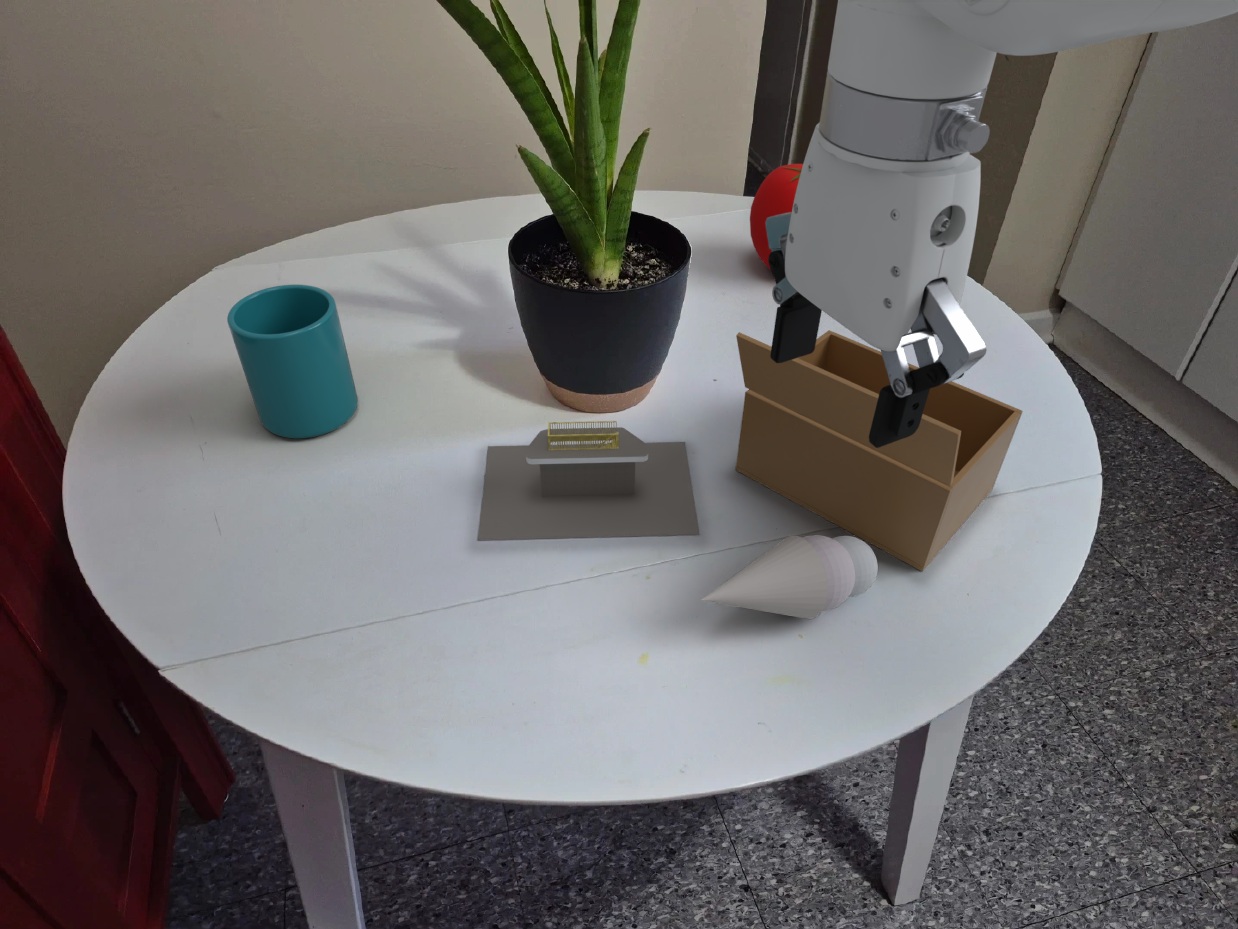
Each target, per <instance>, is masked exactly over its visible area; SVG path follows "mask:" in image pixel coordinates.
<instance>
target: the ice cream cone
mask: <svg viewBox="0 0 1238 929" xmlns="http://www.w3.org/2000/svg"><path fill="white" fill-rule="evenodd" d="M878 570H879V565H878V559H877V557H876V554H875V552H874V550H873V549H872V548H871V546H870V545H868V543H866V541H865V540H864V541H863V539H861V538H859V537H857V536H856V537H855V536H850V535H838V536H836V537H832V538H831V537H829V536H825V535H819V534H814V535H806V536H803V537H801V536H798V535H789V536H786V537H785V538H784V539H782V540H781V541H780V542H778V543H776V544H775V545H774V546H772V547H771V548H770V549H768V550H767V551H766V552H764V553H763V554H762V555H760V556H758V557H757V558H756V559H755V560H754V561H752V562H751V563H749V564H748V565H746V566H745V567H744V568H743V569H741V570H740V571H738V572H737V573H735V574H734V575H733V576H732V577H730V578H728V579H727V580H726V581H724V582H723V583H722V584H720V585H719V586H718V587H716V588H715V589H714V590H712V591H711V592H710V593H708V594H707V595H705V596H704V597H703V598H701V599H700V601H701V602H707V603H712V604H719V605H723V606H724V605H725V606H731V607H736V608H742V609H747V610H748V609H749V610H754V611H760V612H765V613H772V614H776V615H777V614H778V615H783V616H789V617H794V618H801V619H807V620H809V619H810V620H811V619H815V618H817V617H818V616H820V614H821V613H822V612H823V613H824V612H827V611H830V610H831V611H832V610H833V609H836V608H838V607H839V606H840V605H842V604H843V603H845V601H846V600H847V599H848V598H854V597H857V596H860V595H862V594H864V593H865V592H867V591H868V590H869V589H870V588H871V587H872V585H873V584H874V583H875V581H876V578H877V576H878V572H879V571H878Z"/></svg>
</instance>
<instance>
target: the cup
mask: <svg viewBox="0 0 1238 929" xmlns="http://www.w3.org/2000/svg"><path fill="white" fill-rule="evenodd" d="M226 319H227V325H228V328H229V331H230V334H231V337H232V340H233V344H234V346H235V350H236V352H237V355H238V358H239V362H240V365H241V368H242V371H243V373H244V377H245V379H246V383H247V386H248V389H249V391H250V394H251V398H252V401H253V404H254V407H255V410H256V412H257V415H258V419H259V421H260V423H261V424H262V426H263V427H264V428H265V429H266V430H267V431H268V432H270V433H272V434H274V435H277V436H278V437H282V438H288V439H310V438H315V437H319V436H323V435H326V434H329V433H331V432H333V431H335V430H337V429H339V428H341V427H342V426H343V425H345V424H346V423H348V421H349V420H350V419H351V418H352V417H353V415H354V414H355V412H356V410H357V407H358V403H359V401H358V400H359V399H358V394H357V393H358V392H357V389H356V384H355V381H354V375H353V371H352V368H351V367H352V366H351V363H350V360H349V354H348V351H347V346H346V342H345V338H344V337H345V336H344V333H343V329H342V325H341V321H340V317H339V312H338V308H337V303H336V301H335V298H334V297H333V296H332V295H331V293H329V292H328V291H326V290H325V289H323V288H320V287H318V286H315V285H314V286H313V285H307V284H282V285H276V286H271V287H266V288H264V289H260V290H257V291H255V292H252V293H250V294H247V295H246V296H245V297H243V298H241V299H239V301H237V302H236V303H235V304H234V305H233V306H232V307H231V308H230V310H229V312H228V313H227V318H226Z"/></svg>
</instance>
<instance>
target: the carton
mask: <svg viewBox="0 0 1238 929" xmlns="http://www.w3.org/2000/svg"><path fill="white" fill-rule="evenodd" d="M798 359H801V360H803V361H805V362H807V363H810V364H812V365H814V366H816V367H819V368H821V369H823V370H825V371H828V372H830V373H832V374H834V375H836V376H839V377H841V378H843V379H845V380H848V381H850V382H852V383H854V384H857V385H859V386H861V387H863V388H866V389H868V390H870V391H872V392H875V393H877V394H879V393H880V390H881V389H882V388H883V387H885V386H888V385H891V384H890V381H889V377H888V374H887V370H886V367H885V363H884V360H883V356H882V353H881V350H879V349H877V348H873V347H871V346H868V345H867V344H863V343H861V342H859V341H856V340H854V339H851V338H849V337H847V336H844V335H841V334H840V333H837V332H835V331H832V330H830V329H829V330H827V331H826V332H824V333H823V334H821V336H819V337H817V340H816V345H815V350H814V351H813V352H812V353H811V354H808V355H805V356H802V357H798ZM908 366H909V369H910V371H912V370H915V369H918V368H919V366H916V365H915V364H914V365H913V364H911V363H909V362H908ZM923 414H924V415H926V416H929V417H931V418H933V419H935V420H938V421H940V422H942V423H944V424H947V425H949V426H951V427H953V428H956V429H958V430H960V431H961V436H960V442H959V448H958V454H957V460H956V466H955V472H954V478H953V483H952V484H951V486H949V485H947V484H945V483H943V482H941V481H938V480H936V479H934V478H932V477H930V476H928V475H926V474H924V473H922V472H920V471H918V470H916V469H914V468H911V467H909V466H907V465H905V464H903V463H901V462H899V461H897V460H895V459H893V458H891V457H889V456H887V455H885V454H882V453H880V452H878V451H876V450H874V449H872V448H870V447H868V446H866V445H864V444H862V443H860V442H858V441H856V440H853V439H851V438H849V437H847V436H845V435H843V434H841V433H839V432H837V431H835V430H833V429H831V428H829V427H826V426H824V425H822V424H820V423H818V422H816V421H814V420H812V419H810V418H808V417H806V416H804V415H802V414H800V413H797V412H795V411H793V410H791V409H789V408H787V407H785V406H783V405H781V404H779V403H777V402H775V401H773V400H771V399H768V398H766V397H764V396H762V395H760V394H758V393H756V392H754V391H752V390H750V389H747V390H746V391H745V393H744V400H743V409H742V414H741V415H742V416H741V423H740V430H739V440H738V448H737V456H736V462H735V464H736V465H735V470H736V471H737V472H739V473H740V474H742V475H744V476H746V477H748V478H749V479H752V480H753V481H755V482H757V483H759V484H761V485H763V487H766V488H768V489H770V490H771V491H773V492H775V493H777V494H779V495H781V496H783V497H784V498H786V499H788V500H790V501H792V502H793V503H795V504H797V505H799V506H802V507H803V508H805V509H807V511H810V512H812V513H814V514H816V515H818V516H819V517H821V518H823V519H825V520H827V521H829V522H830V523H832V524H834V525H835V526H837V527H839V528H841V529H843V530H845V531H847V532H849V533H851V534H853V535H854V536H856V537H857V538H859V539H861V540H862V541H863V540H864V542H867V543H868V544H871V545H872V546H874V547H876V548H878V549H880V550H882V551H883V552H885V553H887V554H889V555H892V556H893V557H895V558H896V559H899V561H902V562H904V563H905V564H907V565H910V566H911V567H913V568H915V569H917V570H919V571H920V572H923V571H924V570H925V569H926V568H927V567H928V565H929V564H931V563H932V561H933V560H934V558H936V556H937V555H938V554H939V553H940V552H941V550H943V548H944V547H945V546H946V544H948V543H949V541H950V540H951V539H952V538H953V536H954V535H955V534H956V533H957V532H958V530H959V529H960V528H961V527H962V526H963V525H964V523H965V522H966V521H967V520H968V519H969V518H970V517H971V515H973V513H974V512H975V511H976V510H977V508H978V507H979V506H980V505H981V503H982V502H983V501H984V500H985V499H986V497H988V495H989V494H990V493H991V492H992V491H993V489H994V487H995V484H996V481H997V479H998V476H999V474H1000V472H1001V468H1002V466H1003V464H1004V461H1005V459H1006V456H1007V453H1008V451H1009V448H1010V446H1011V443H1012V440H1013V437H1014V435H1015V434H1016V433H1015V432H1016V430H1017V428H1018V426H1019V422H1020V420H1021V418H1022V415H1023V410H1022V409H1019V408H1017V407H1015V406H1012V405H1010V404H1007V403H1005V402H1003V401H1000V400H998V399H995V398H993V397H991V396H989V395H986V394H984V393H982V392H979V391H977V390H974V389H972V388H969V387H967V386H964V385H962V384H959V383H958V382H955V381H951V382H948V383H945V384H942V385H939V386H937V387H933V388H930V391H929V394H928V397H927V401H926V404H925V408H924V411H923Z"/></svg>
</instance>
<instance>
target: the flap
mask: <svg viewBox="0 0 1238 929" xmlns="http://www.w3.org/2000/svg"><path fill="white" fill-rule="evenodd" d="M735 338H736V342H737V347H738V354H739V360H740V366H741V372H742V378H743V384H744V388H745V389H747V390H749V389H750V390H752V391H754V392H756V393H758V394H760V395H762V396H764V397H766V398H768V399H771V400H773V401H775V402H777V403H779V404H781V405H783V406H785V407H787V408H789V409H791V410H793V411H795V412H797V413H800V414H802V415H804V416H806V417H808V418H810V419H812V420H814V421H816V422H818V423H820V424H822V425H824V426H826V427H829V428H831V429H833V430H835V431H837V432H839V433H841V434H843V435H845V436H847V437H849V438H851V439H853V440H856V441H858V442H860V443H862V444H864V445H866V446H868V447H870V448H872V449H874V450H876V451H878V452H880V453H882V454H885V455H887V456H889V457H891V458H893V459H895V460H897V461H899V462H901V463H903V464H905V465H907V466H909V467H911V468H914V469H916V470H918V471H920V472H922V473H924V474H926V475H928V476H930V477H932V478H934V479H936V480H938V481H941V482H943V483H945V484H947V485H949V486H951V484H952V483H953V478H954V472H955V466H956V460H957V454H958V448H959V442H960V436H961V431H960V430H958V429H956V428H953V427H951V426H949V425H947V424H944V423H942V422H940V421H938V420H935V419H933V418H931V417H929V416H926V415H924V414H922V418H921V421H920V425H919V427H918V429H917V431H916V432H915V433H914V434H913V435H911V436H909V437H906V438H904V439H900V440H898V441H895V442H893V443H890V444H887V445H885V446H882V447H879V448H876V447H875V446H873V445H872V444H871V443H870V442H869V433H870V429H871V425H872V421H873V417H874V413H875V409H876V405H877V401H878V397H879V394H877V393H875V392H872V391H870V390H868V389H866V388H863V387H861V386H859V385H857V384H854V383H852V382H850V381H848V380H845V379H843V378H841V377H839V376H836V375H834V374H832V373H830V372H828V371H825V370H823V369H821V368H819V367H816V366H814V365H812V364H810V363H807V362H805V361H803V360H801V359H798V358H795V359H792V360H789V361H786V362H783V363H776V362H775V361H773V360H772V359H771V357H770V355H771V348H772V345H769V344H766V343H764V342H763V341H760V340H759V339H756V338H754V337H751V336H750V335H746V334H744V333H742V332H740V331H739V332H737V334H736V336H735Z"/></svg>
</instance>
